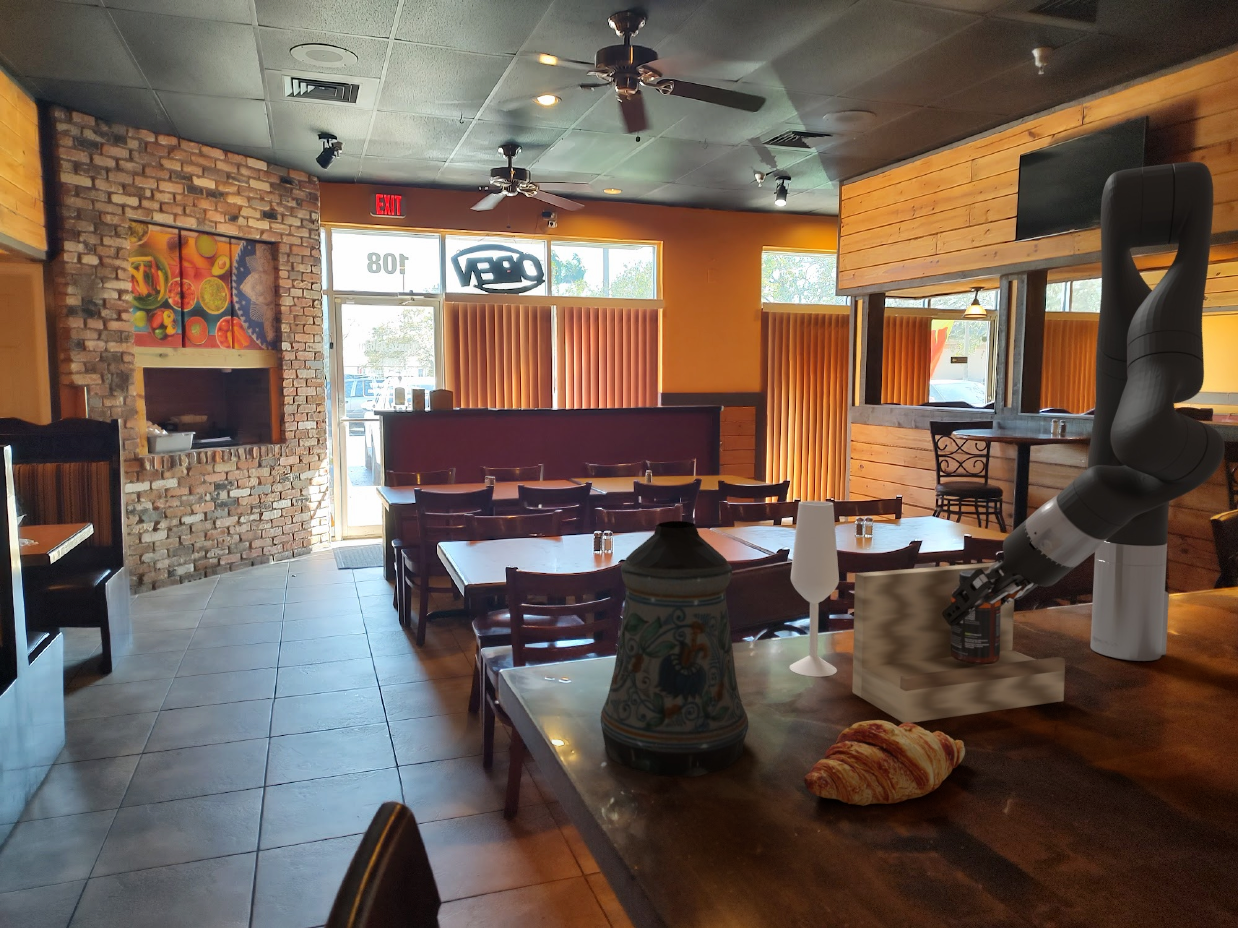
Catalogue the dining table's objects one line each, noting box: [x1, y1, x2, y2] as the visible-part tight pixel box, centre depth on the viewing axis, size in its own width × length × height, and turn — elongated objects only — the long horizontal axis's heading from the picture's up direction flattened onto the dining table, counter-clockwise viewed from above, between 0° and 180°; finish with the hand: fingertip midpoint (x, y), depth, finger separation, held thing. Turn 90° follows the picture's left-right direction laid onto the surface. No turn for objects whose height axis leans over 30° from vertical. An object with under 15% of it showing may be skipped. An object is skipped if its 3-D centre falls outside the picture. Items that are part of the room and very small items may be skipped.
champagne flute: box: [789, 500, 840, 677], centre depth 119 cm, size 7×7×24 cm
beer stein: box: [600, 520, 750, 777], centre depth 95 cm, size 16×19×25 cm
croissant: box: [803, 719, 966, 807], centre depth 85 cm, size 21×10×8 cm, turn 119°
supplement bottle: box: [950, 570, 1001, 665], centre depth 108 cm, size 6×6×11 cm
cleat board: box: [852, 562, 1066, 724], centre depth 108 cm, size 24×11×16 cm, turn 108°
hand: (963, 615), depth 110 cm, fingers closed on supplement bottle, 6 cm apart
